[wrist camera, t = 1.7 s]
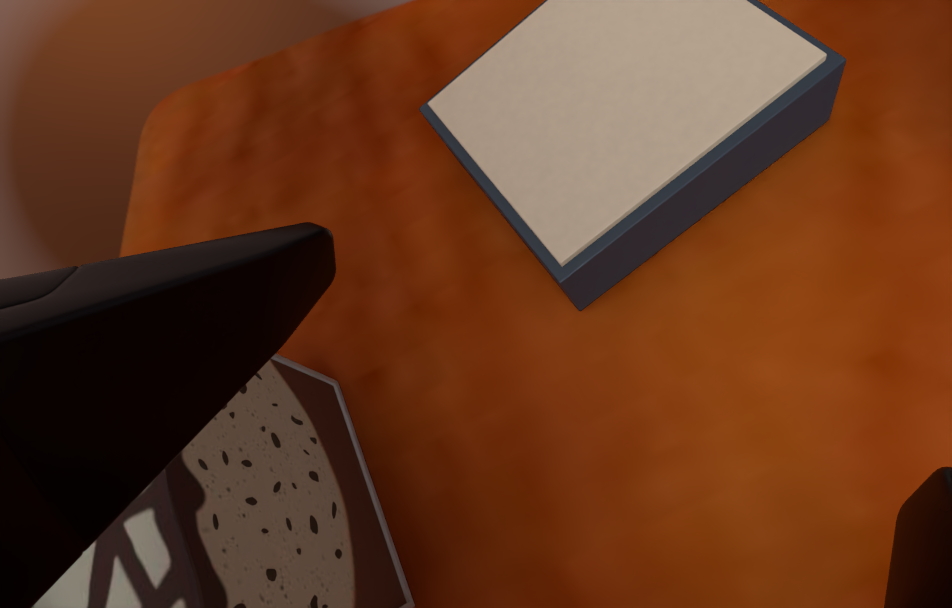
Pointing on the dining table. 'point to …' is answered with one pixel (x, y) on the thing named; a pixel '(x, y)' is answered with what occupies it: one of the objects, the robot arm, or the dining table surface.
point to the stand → (629, 123)
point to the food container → (251, 514)
